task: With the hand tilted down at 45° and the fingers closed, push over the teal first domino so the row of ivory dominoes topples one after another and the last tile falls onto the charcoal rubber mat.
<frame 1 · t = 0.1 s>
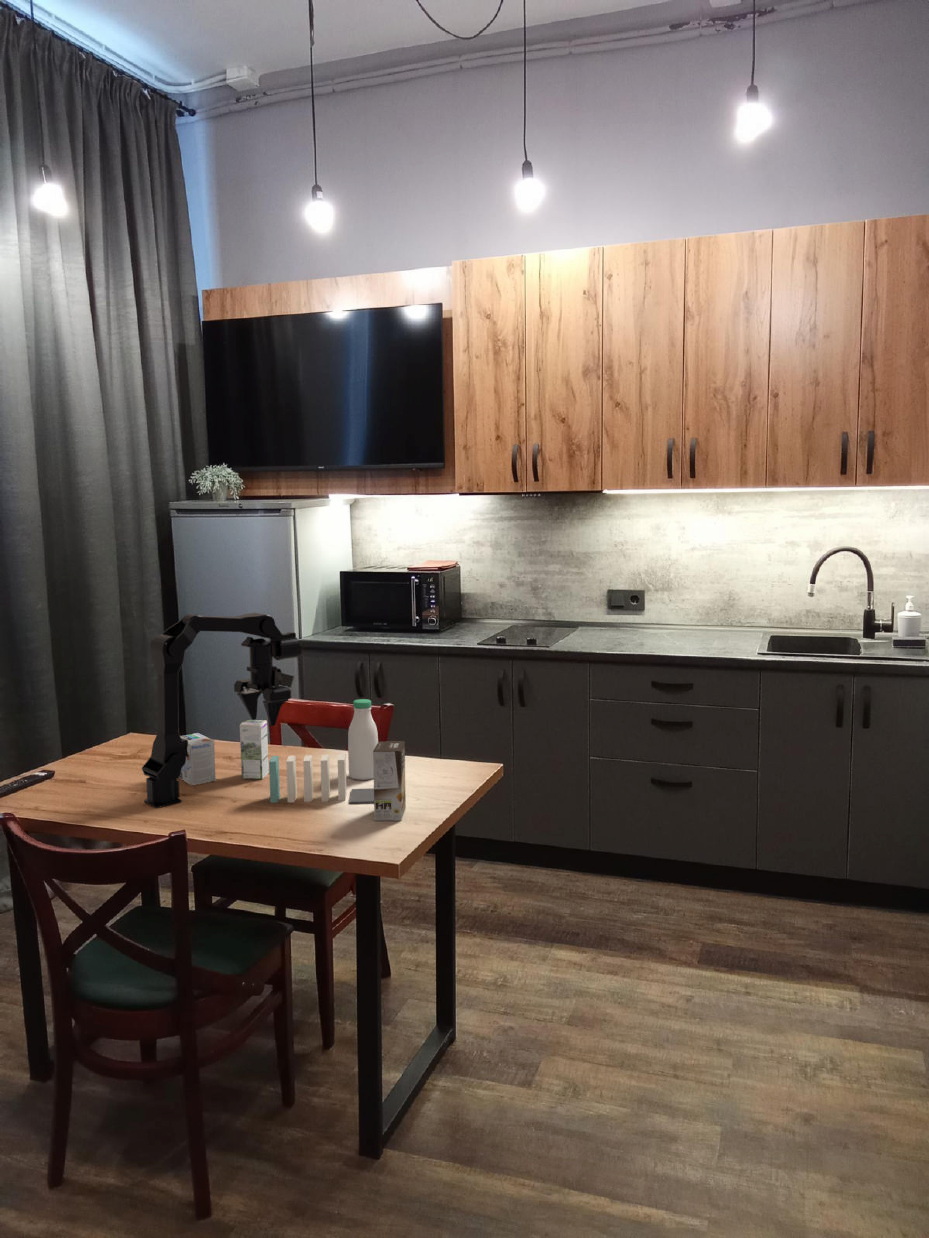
hand: (263, 722, 243), 15 cm above the table, tool pointing down, fingers open, 9 cm apart
syrup box: (255, 777, 247), on the table
domino 2: (292, 798, 228), on the table
milk bottle: (363, 777, 246), on the table
domino 1: (275, 799, 228), on the table
light bulb box: (196, 779, 245), on the table
domino 4: (325, 798, 228), on the table
domino 5: (342, 797, 229), on the table
mat: (371, 796, 229), on the table
domino 3: (308, 798, 228), on the table
coffee box: (390, 815, 216), on the table
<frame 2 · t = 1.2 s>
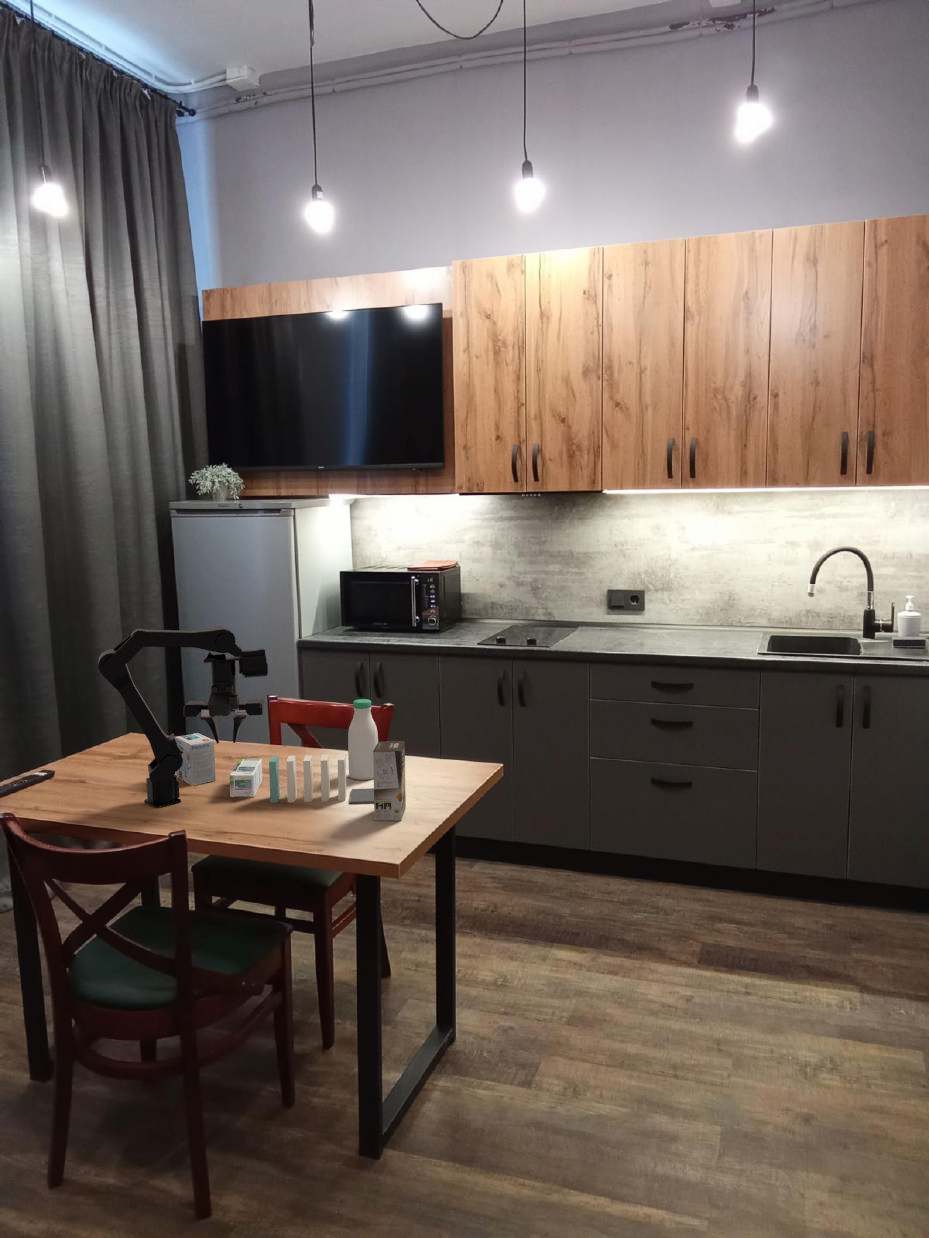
hand: (226, 742, 230), 13 cm above the table, tool pointing down, fingers open, 4 cm apart
syrup box: (251, 769, 243), point 3 cm above the table
everything else where it was.
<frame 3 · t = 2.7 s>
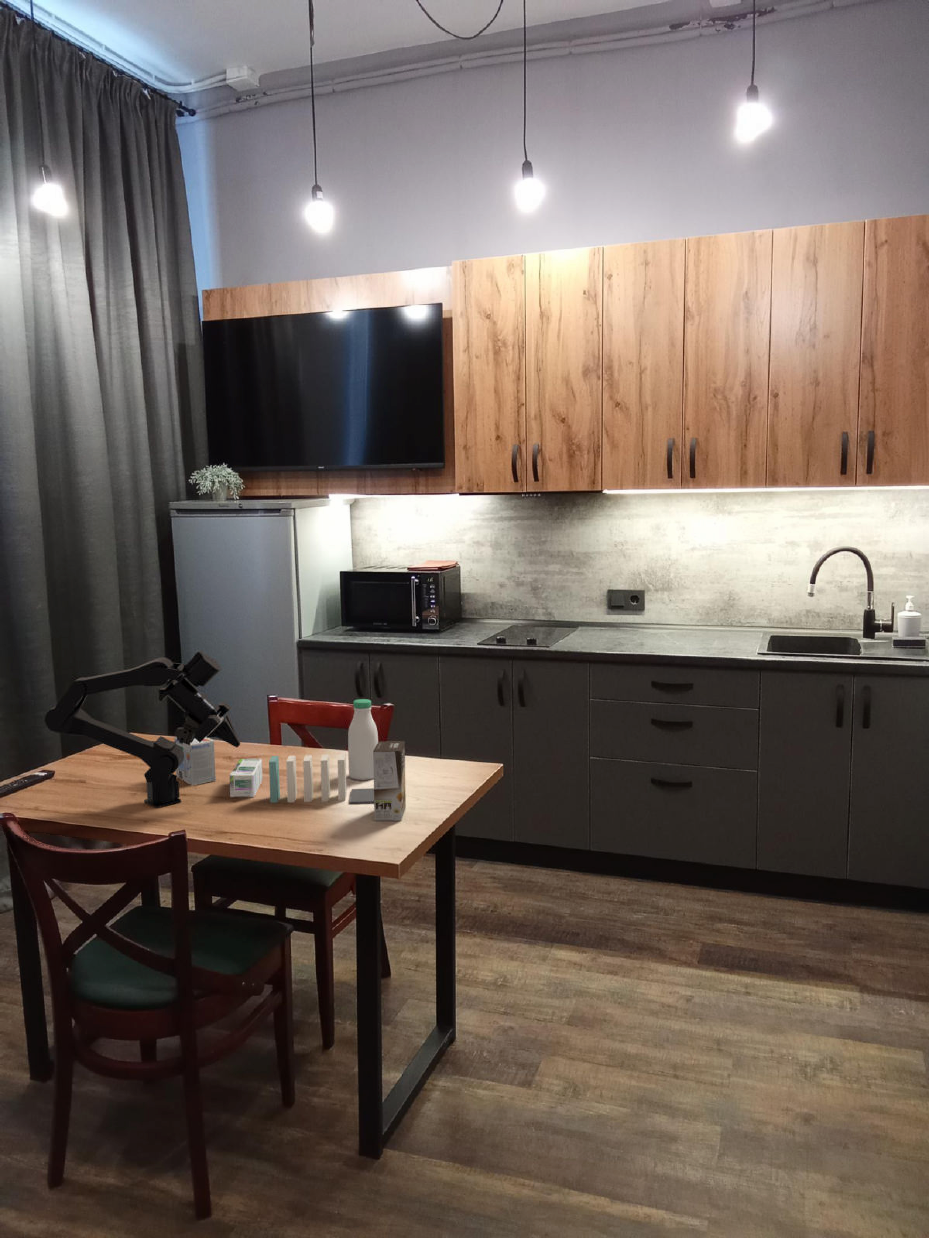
hand: (238, 745, 226), 13 cm above the table, tool tilted 45°, fingers closed
nothing on the table moved.
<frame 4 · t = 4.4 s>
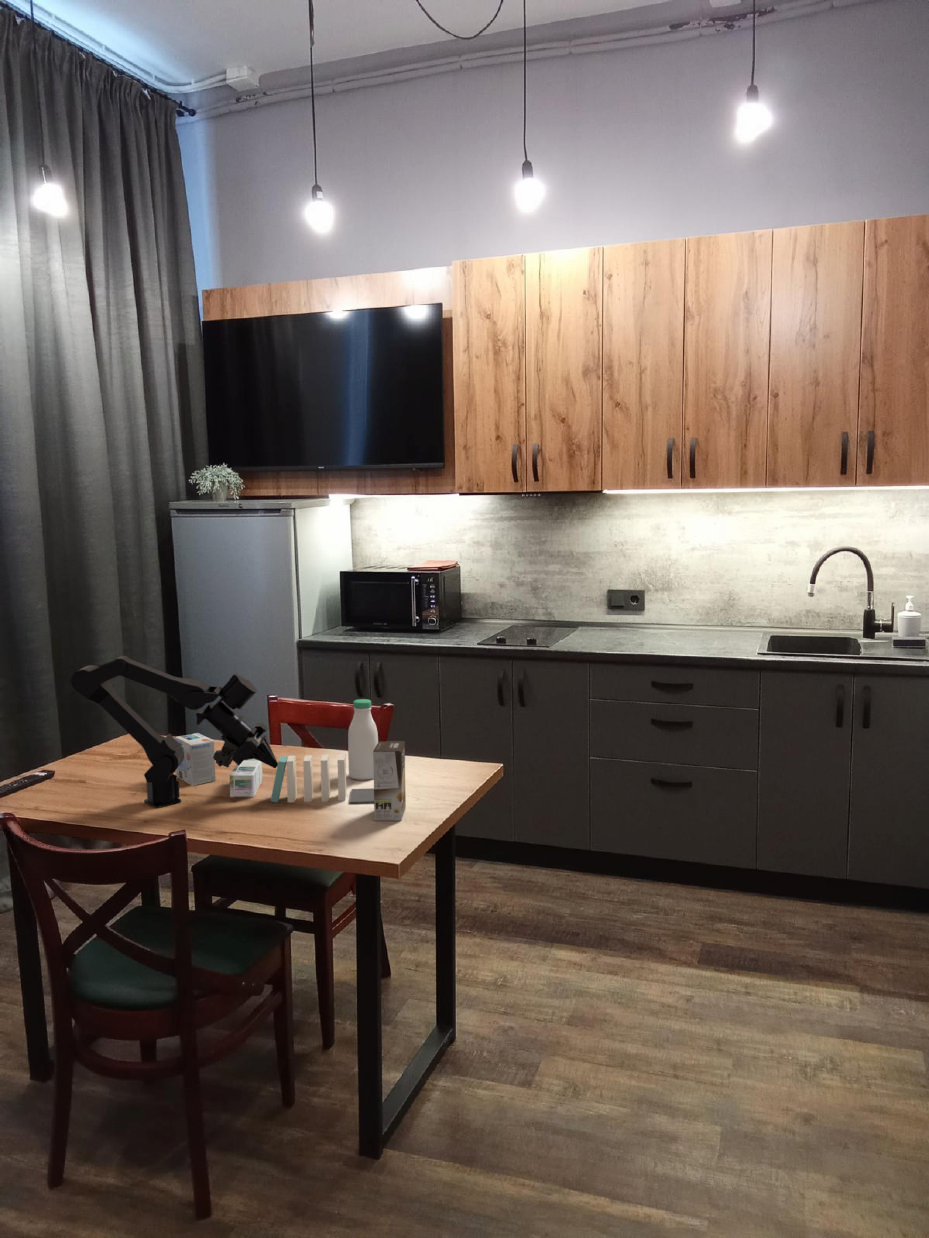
hand: (276, 766, 227), 8 cm above the table, tool tilted 45°, fingers closed
domino 1: (275, 798, 228), on the table, tilted 13°
everything else where it was.
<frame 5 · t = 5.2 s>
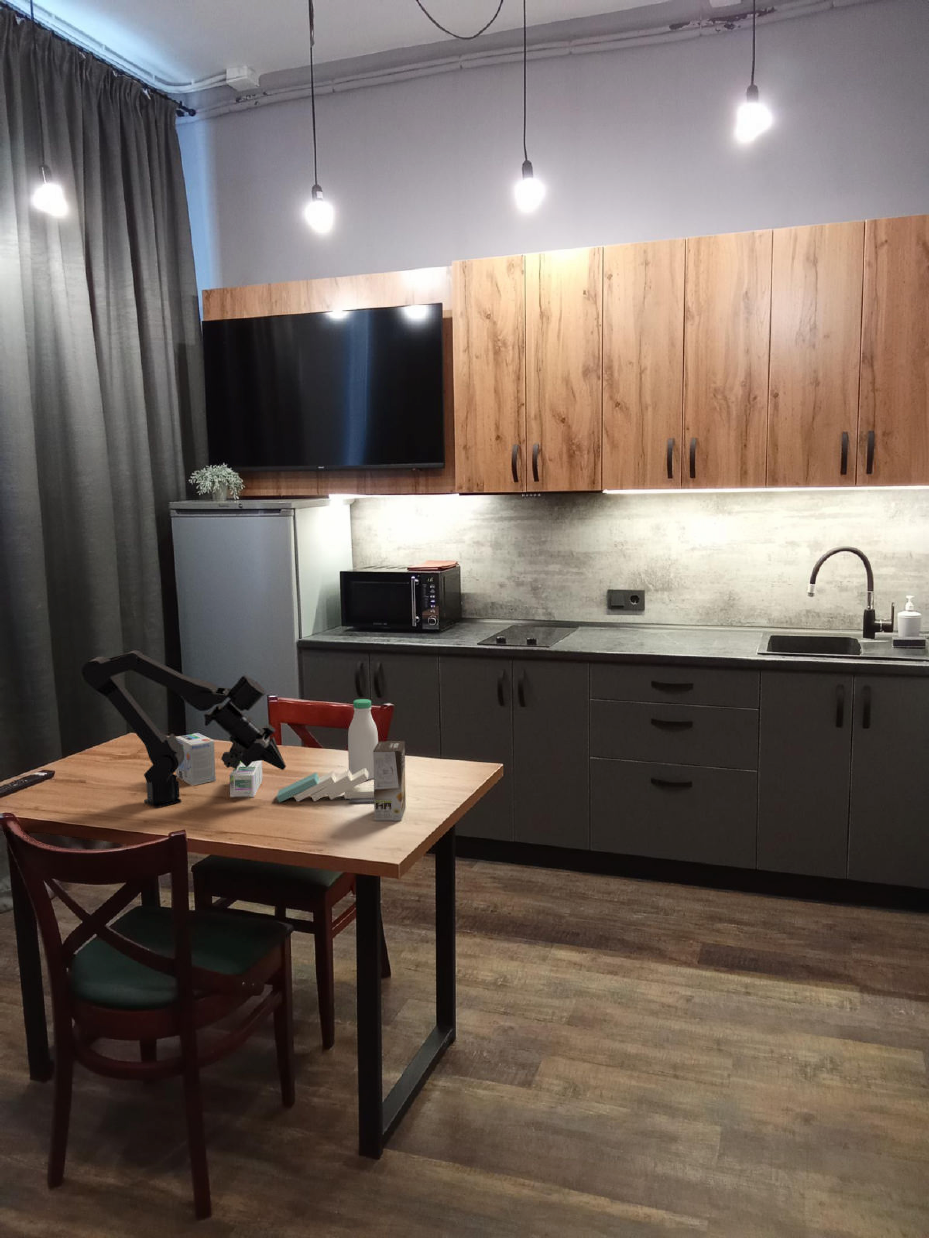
hand: (284, 768, 227), 8 cm above the table, tool tilted 45°, fingers closed
domino 2: (296, 795, 228), point 1 cm above the table, tilted 63°, touching domino 1, domino 3
domino 1: (279, 796, 228), point 1 cm above the table, tilted 65°, touching domino 2
domino 4: (330, 793, 228), point 1 cm above the table, tilted 61°, touching domino 3, domino 5
domino 5: (345, 792, 229), point 1 cm above the table, tilted 90°, touching domino 4, mat
domino 3: (313, 795, 228), point 1 cm above the table, tilted 61°, touching domino 2, domino 4
everything else where it was.
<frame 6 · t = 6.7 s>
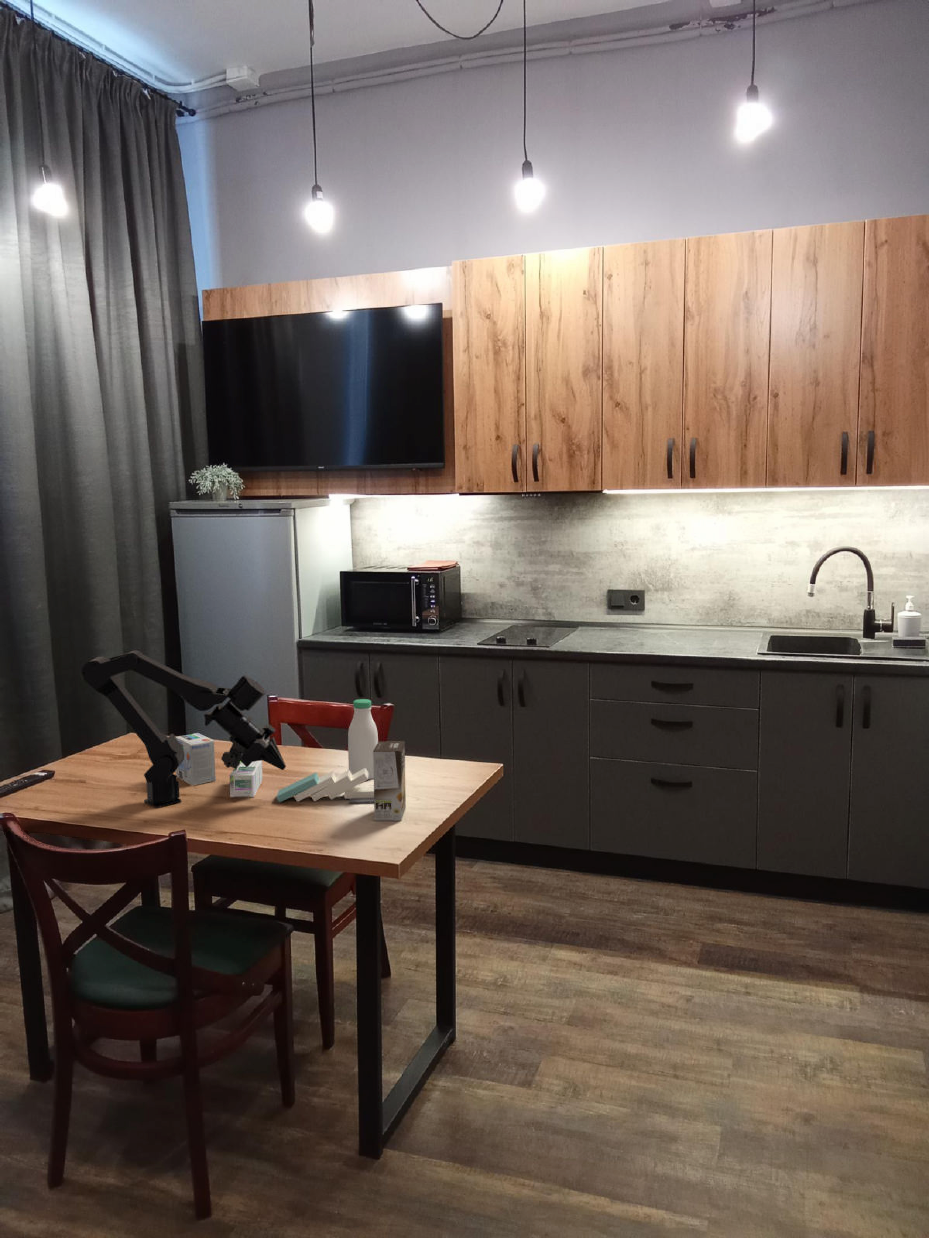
hand: (284, 768, 227), 8 cm above the table, tool tilted 45°, fingers closed
nothing on the table moved.
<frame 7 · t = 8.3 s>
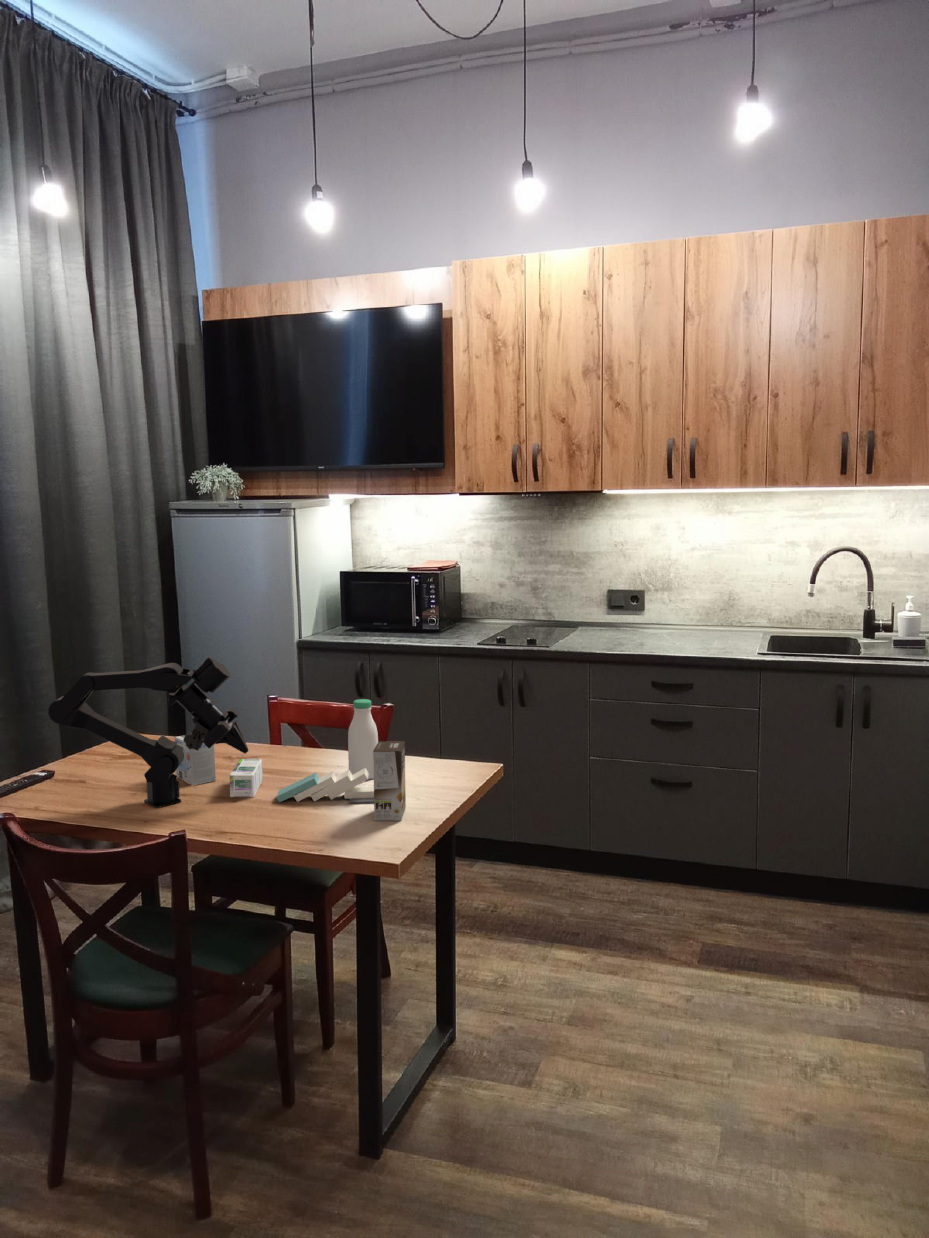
hand: (247, 752, 226), 12 cm above the table, tool tilted 45°, fingers closed
nothing on the table moved.
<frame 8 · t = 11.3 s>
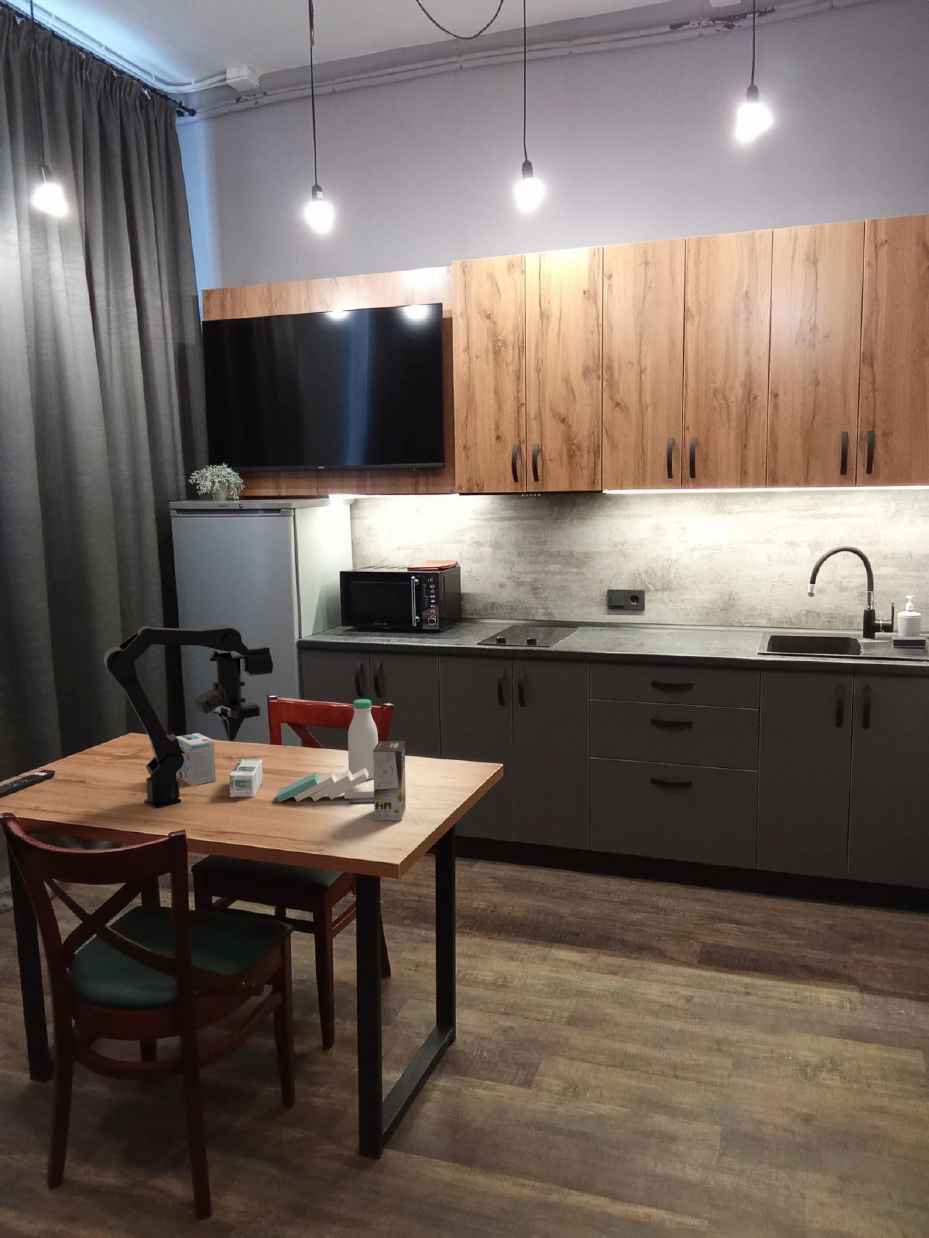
hand: (231, 740, 232), 13 cm above the table, tool pointing down, fingers closed
nothing on the table moved.
at the end: domino 5 tilted 90°; domino 5 touching domino 4, mat; domino 1 tilted 65° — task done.
